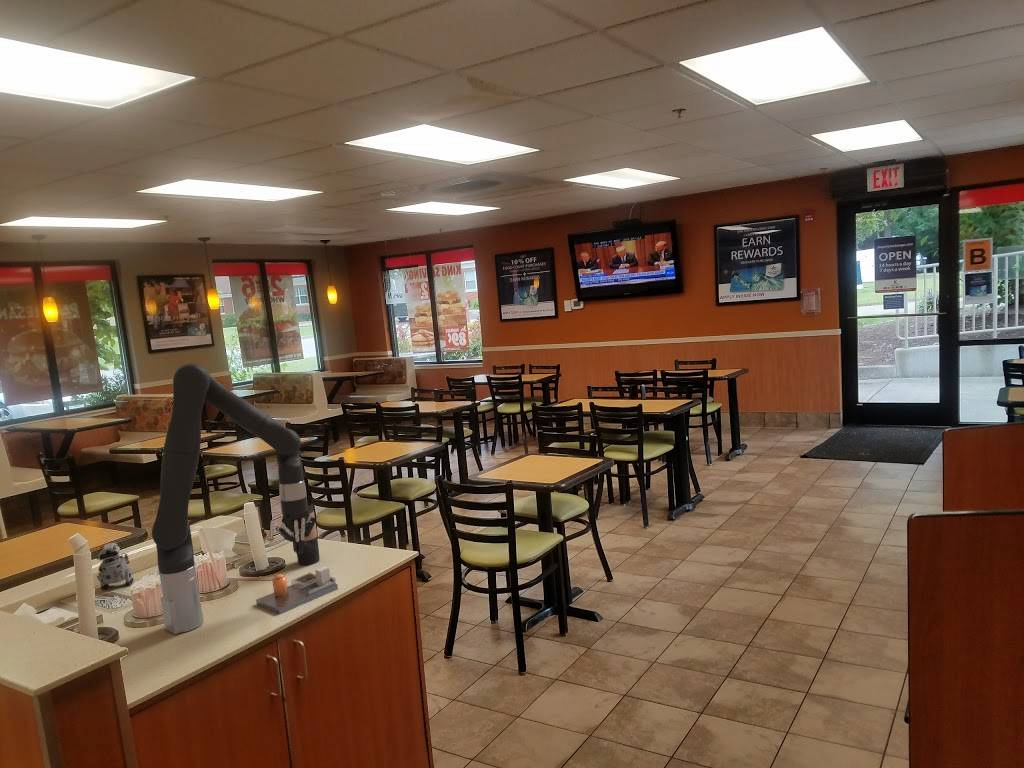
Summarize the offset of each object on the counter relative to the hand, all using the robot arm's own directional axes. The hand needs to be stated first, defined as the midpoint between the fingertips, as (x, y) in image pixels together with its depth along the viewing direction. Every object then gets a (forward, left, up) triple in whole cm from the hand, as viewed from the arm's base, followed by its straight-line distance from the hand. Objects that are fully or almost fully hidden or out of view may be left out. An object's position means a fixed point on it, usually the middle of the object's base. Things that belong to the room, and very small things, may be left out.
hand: (299, 552), depth 215 cm
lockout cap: (-4, +6, -13) cm, 15 cm away
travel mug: (+18, +26, -14) cm, 35 cm away
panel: (-1, +3, -14) cm, 14 cm away
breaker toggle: (+7, 0, -13) cm, 14 cm away
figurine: (-30, +67, -14) cm, 75 cm away
